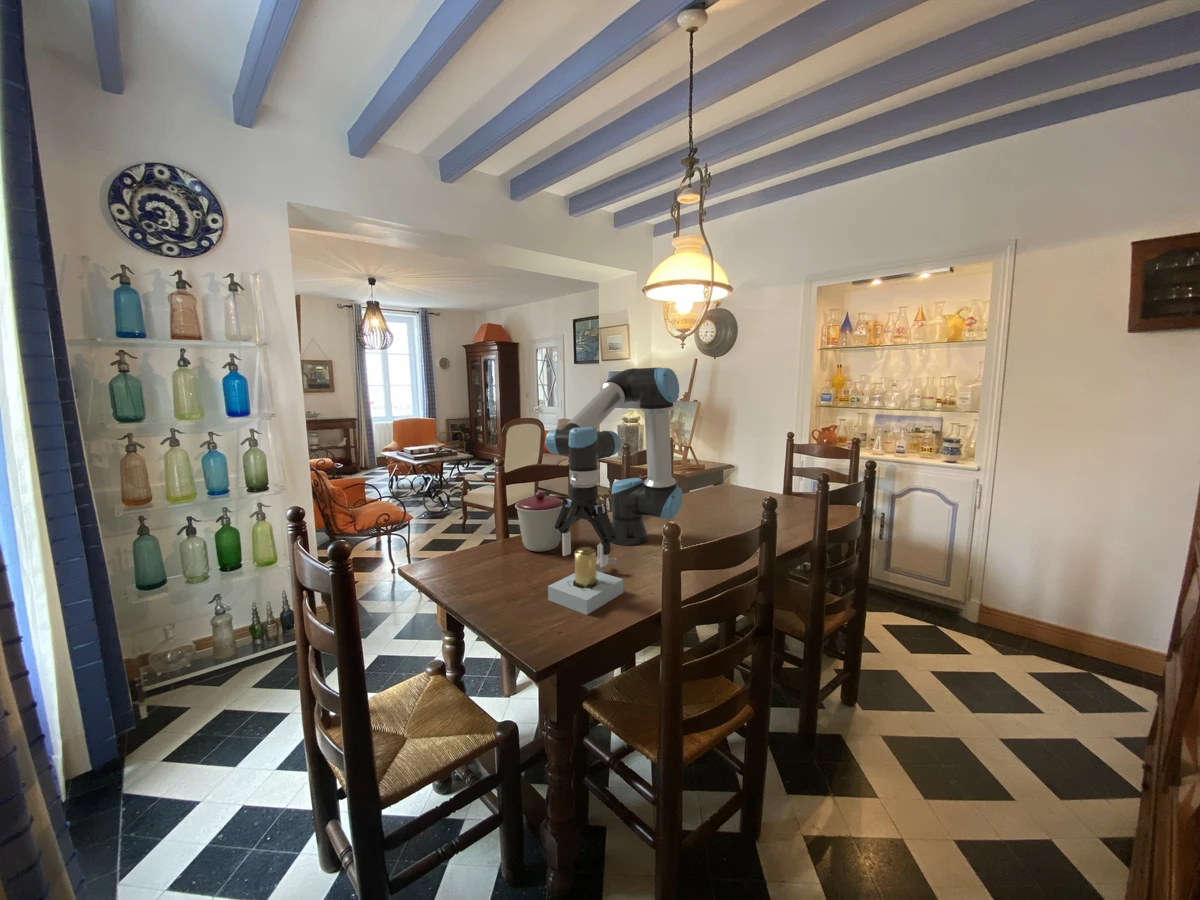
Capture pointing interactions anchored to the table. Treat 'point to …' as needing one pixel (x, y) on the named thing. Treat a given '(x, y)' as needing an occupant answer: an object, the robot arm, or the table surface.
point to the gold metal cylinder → (585, 568)
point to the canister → (539, 521)
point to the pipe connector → (600, 569)
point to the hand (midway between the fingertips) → (584, 560)
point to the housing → (585, 593)
